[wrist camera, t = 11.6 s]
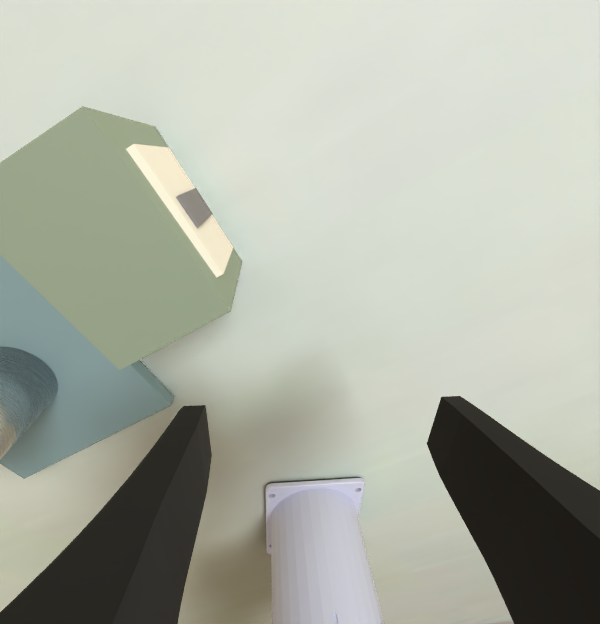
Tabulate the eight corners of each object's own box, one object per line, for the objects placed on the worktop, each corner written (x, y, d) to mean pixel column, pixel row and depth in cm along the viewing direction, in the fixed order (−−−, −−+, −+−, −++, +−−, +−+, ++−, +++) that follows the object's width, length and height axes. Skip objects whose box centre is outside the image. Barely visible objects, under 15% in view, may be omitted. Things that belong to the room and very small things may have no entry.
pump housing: (165, 304, 17) (119, 370, 12) (65, 184, 14) (-56, 201, 9) (249, 257, 17) (241, 305, 11) (163, 121, 14) (96, 97, 8)
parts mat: (31, 468, 22) (24, 478, 21) (-157, 342, 16) (-177, 351, 16) (174, 396, 20) (170, 405, 19) (15, 232, 15) (2, 236, 14)
